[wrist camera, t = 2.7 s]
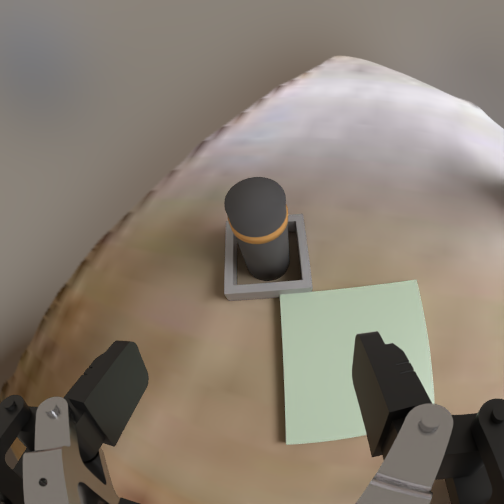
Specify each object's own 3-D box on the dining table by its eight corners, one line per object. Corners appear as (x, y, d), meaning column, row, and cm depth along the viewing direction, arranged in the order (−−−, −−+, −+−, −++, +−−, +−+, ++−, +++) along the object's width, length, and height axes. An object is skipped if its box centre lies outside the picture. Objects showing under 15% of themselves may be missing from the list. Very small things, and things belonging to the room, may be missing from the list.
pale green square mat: (413, 282, 25) (416, 279, 24) (431, 416, 18) (434, 416, 17) (280, 297, 26) (279, 294, 26) (286, 442, 20) (286, 444, 19)
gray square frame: (302, 224, 30) (302, 213, 28) (311, 294, 26) (312, 287, 24) (230, 231, 31) (226, 221, 29) (228, 300, 27) (224, 293, 25)
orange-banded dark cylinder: (288, 239, 29) (283, 173, 20) (292, 279, 27) (289, 223, 18) (245, 243, 30) (224, 180, 21) (245, 283, 28) (221, 229, 19)
